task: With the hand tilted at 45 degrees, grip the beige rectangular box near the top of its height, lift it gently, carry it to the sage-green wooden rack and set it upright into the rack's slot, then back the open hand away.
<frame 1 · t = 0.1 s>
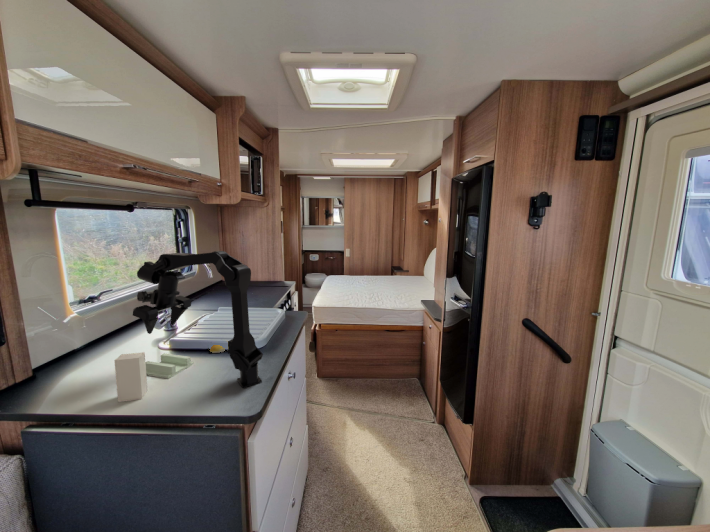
hand: (161, 328, 99), 15 cm above the countertop, tool pointing down, fingers open, 9 cm apart
bread roll: (219, 349, 120), on the countertop
beige rectangular box: (133, 396, 85), on the countertop
tile rack: (168, 368, 102), on the countertop
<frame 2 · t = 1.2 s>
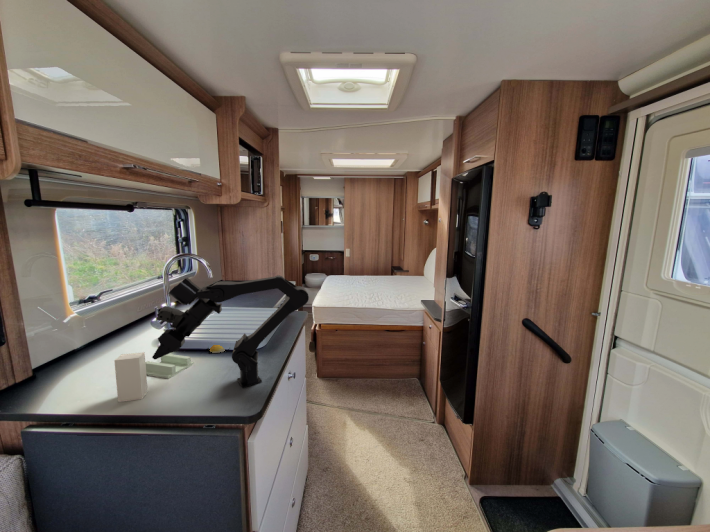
hand: (159, 351, 86), 13 cm above the countertop, tool tilted 45°, fingers open, 9 cm apart
nothing on the countertop moved.
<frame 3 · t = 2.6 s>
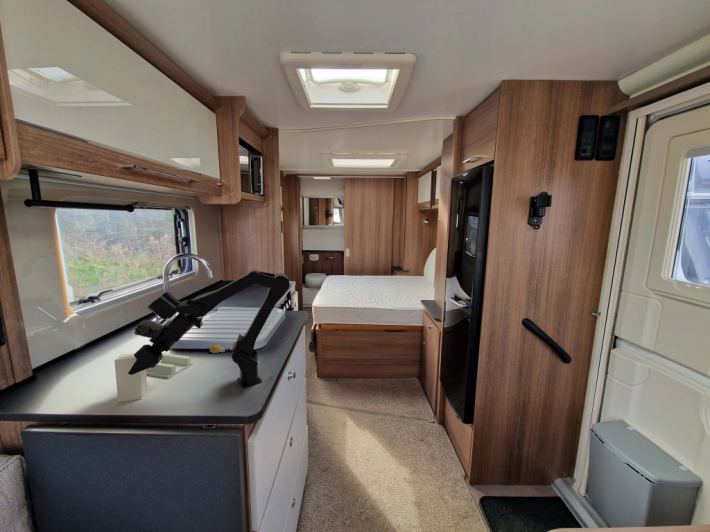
hand: (136, 366, 84), 9 cm above the countertop, tool tilted 45°, fingers open, 9 cm apart
nothing on the countertop moved.
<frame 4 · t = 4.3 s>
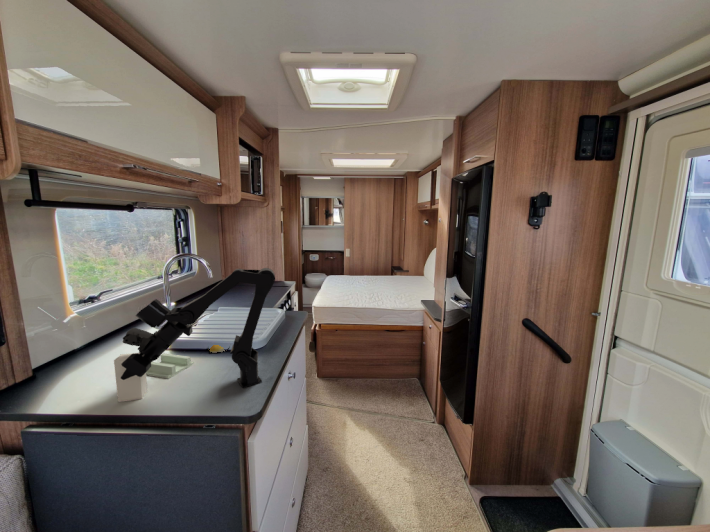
hand: (125, 375, 83), 7 cm above the countertop, tool tilted 45°, fingers closed on beige rectangular box, 4 cm apart
beige rectangular box: (133, 396, 85), on the countertop, touching gripper
everything else where it was.
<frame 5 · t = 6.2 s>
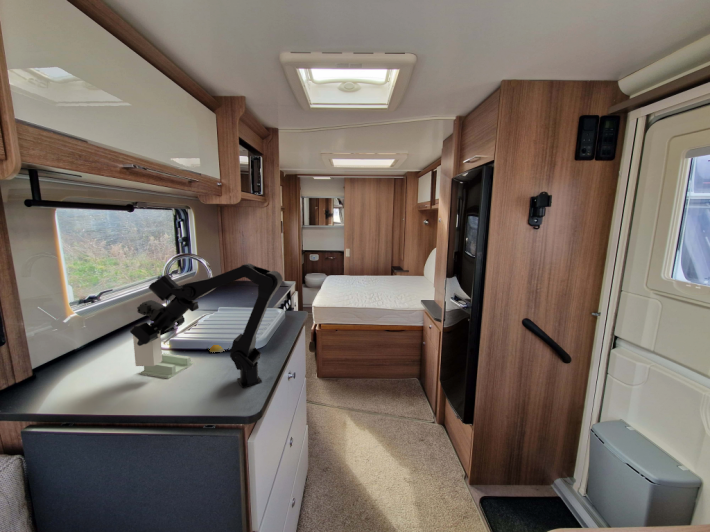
hand: (143, 342, 92), 13 cm above the countertop, tool tilted 45°, fingers closed on beige rectangular box, 4 cm apart
beige rectangular box: (149, 363, 93), point 6 cm above the countertop, touching gripper
everything else where it was.
when the fingers open (9 cm above the countertop, at t = 8.4 s): beige rectangular box stays where it is, resting on tile rack.
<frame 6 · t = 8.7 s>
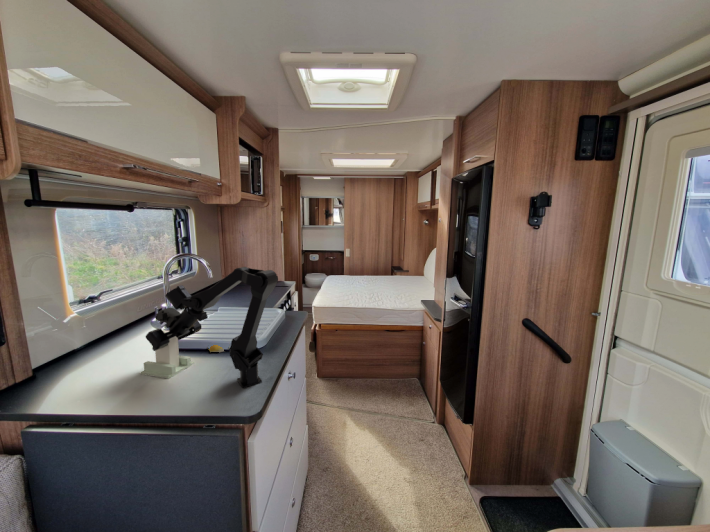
hand: (163, 345, 101), 9 cm above the countertop, tool tilted 45°, fingers open, 8 cm apart
beige rectangular box: (168, 366, 102), point 1 cm above the countertop, touching tile rack
everything else where it was.
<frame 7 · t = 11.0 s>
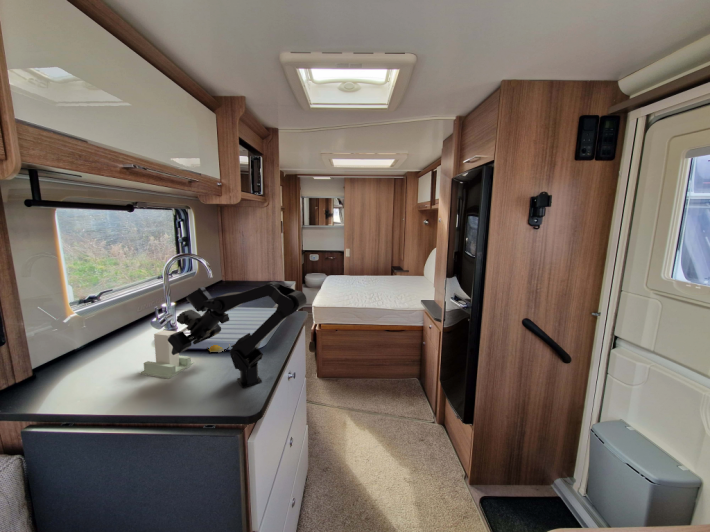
hand: (183, 348, 99), 9 cm above the countertop, tool tilted 45°, fingers open, 9 cm apart
nothing on the countertop moved.
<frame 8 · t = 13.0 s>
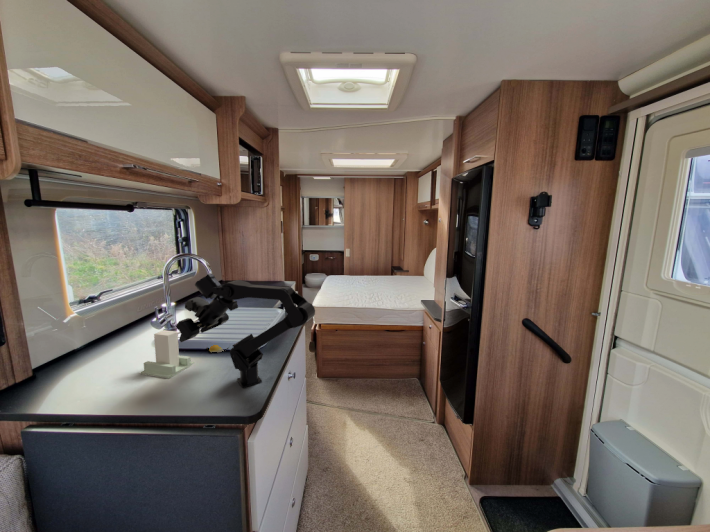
hand: (191, 336, 98), 14 cm above the countertop, tool tilted 45°, fingers open, 9 cm apart
nothing on the countertop moved.
at the end: beige rectangular box 0.0 cm off-centre on the tile rack, point 0.8 cm above the tile rack's base; beige rectangular box tilted 0°; the gripper is holding nothing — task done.
